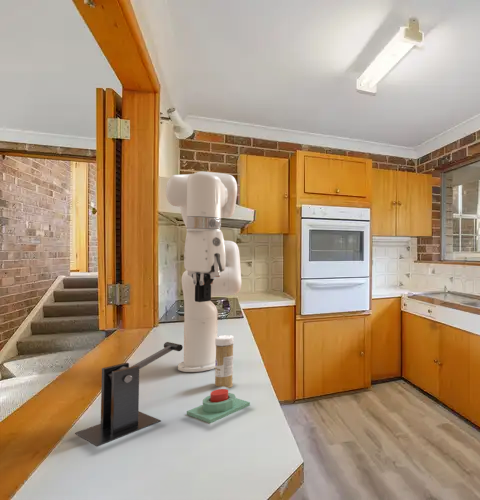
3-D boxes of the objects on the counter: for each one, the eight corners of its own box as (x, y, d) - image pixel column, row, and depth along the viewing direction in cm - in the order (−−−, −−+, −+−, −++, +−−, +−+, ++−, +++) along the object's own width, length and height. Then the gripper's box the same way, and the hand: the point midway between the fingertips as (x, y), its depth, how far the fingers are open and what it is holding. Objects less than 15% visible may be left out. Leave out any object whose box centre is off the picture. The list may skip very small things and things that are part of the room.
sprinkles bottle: (211, 387, 93) (212, 336, 93) (227, 383, 96) (228, 334, 97) (219, 391, 90) (220, 339, 90) (236, 386, 93) (237, 336, 94)
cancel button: (221, 395, 80) (221, 387, 80) (231, 398, 78) (231, 390, 78) (206, 401, 76) (206, 393, 76) (217, 404, 75) (217, 396, 75)
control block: (226, 402, 83) (226, 387, 83) (249, 409, 79) (250, 394, 80) (186, 419, 75) (186, 402, 75) (210, 428, 71) (210, 410, 71)
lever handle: (171, 348, 80) (168, 338, 80) (184, 350, 78) (181, 341, 77) (108, 383, 70) (104, 373, 69) (121, 388, 67) (117, 377, 66)
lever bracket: (137, 416, 76) (138, 357, 76) (160, 426, 72) (162, 363, 72) (74, 438, 66) (76, 371, 67) (97, 452, 62) (98, 379, 62)
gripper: (237, 226, 84) (236, 302, 84) (199, 227, 92) (198, 297, 92) (209, 224, 78) (208, 306, 78) (170, 225, 85) (169, 300, 85)
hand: (202, 301), depth 85 cm, fingers closed
